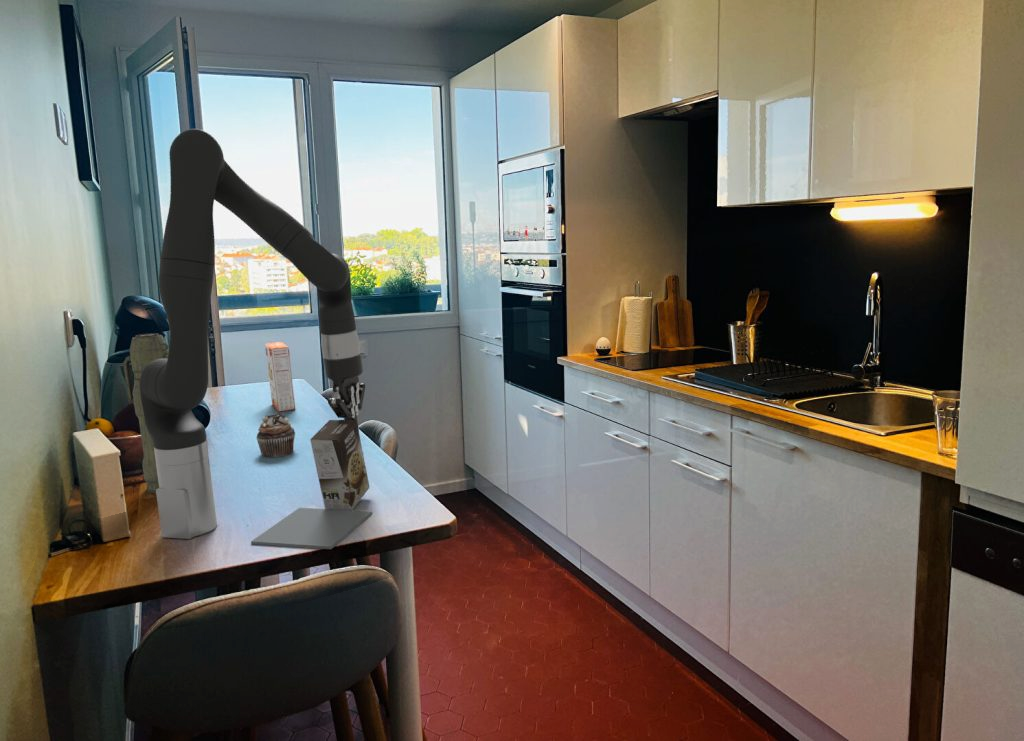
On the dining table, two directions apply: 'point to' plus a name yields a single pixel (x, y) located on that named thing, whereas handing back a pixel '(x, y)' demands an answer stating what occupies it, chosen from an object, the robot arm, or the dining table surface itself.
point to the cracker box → (280, 376)
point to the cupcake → (275, 436)
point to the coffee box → (340, 464)
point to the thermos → (141, 355)
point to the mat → (313, 528)
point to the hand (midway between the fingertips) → (352, 433)
